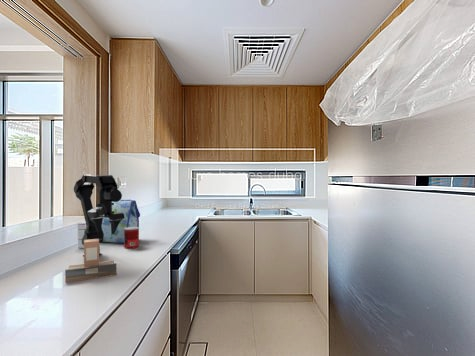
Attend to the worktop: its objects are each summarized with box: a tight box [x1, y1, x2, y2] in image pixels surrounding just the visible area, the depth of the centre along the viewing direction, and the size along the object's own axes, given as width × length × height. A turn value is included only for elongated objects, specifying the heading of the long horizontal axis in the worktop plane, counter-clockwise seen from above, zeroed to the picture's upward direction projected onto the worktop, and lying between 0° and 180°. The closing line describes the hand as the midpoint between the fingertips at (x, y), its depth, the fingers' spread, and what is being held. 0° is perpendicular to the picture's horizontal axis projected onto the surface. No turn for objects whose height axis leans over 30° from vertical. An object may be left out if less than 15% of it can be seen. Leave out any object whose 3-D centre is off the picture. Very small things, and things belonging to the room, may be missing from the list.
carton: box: [83, 239, 100, 267], centre depth 123 cm, size 6×6×12 cm
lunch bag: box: [100, 199, 141, 244], centre depth 185 cm, size 22×17×26 cm
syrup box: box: [76, 221, 86, 249], centre depth 169 cm, size 6×6×14 cm
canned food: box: [123, 226, 140, 249], centre depth 168 cm, size 8×8×11 cm
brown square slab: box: [64, 259, 117, 283], centre depth 123 cm, size 18×18×4 cm
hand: (105, 233), depth 140 cm, fingers open, 9 cm apart
